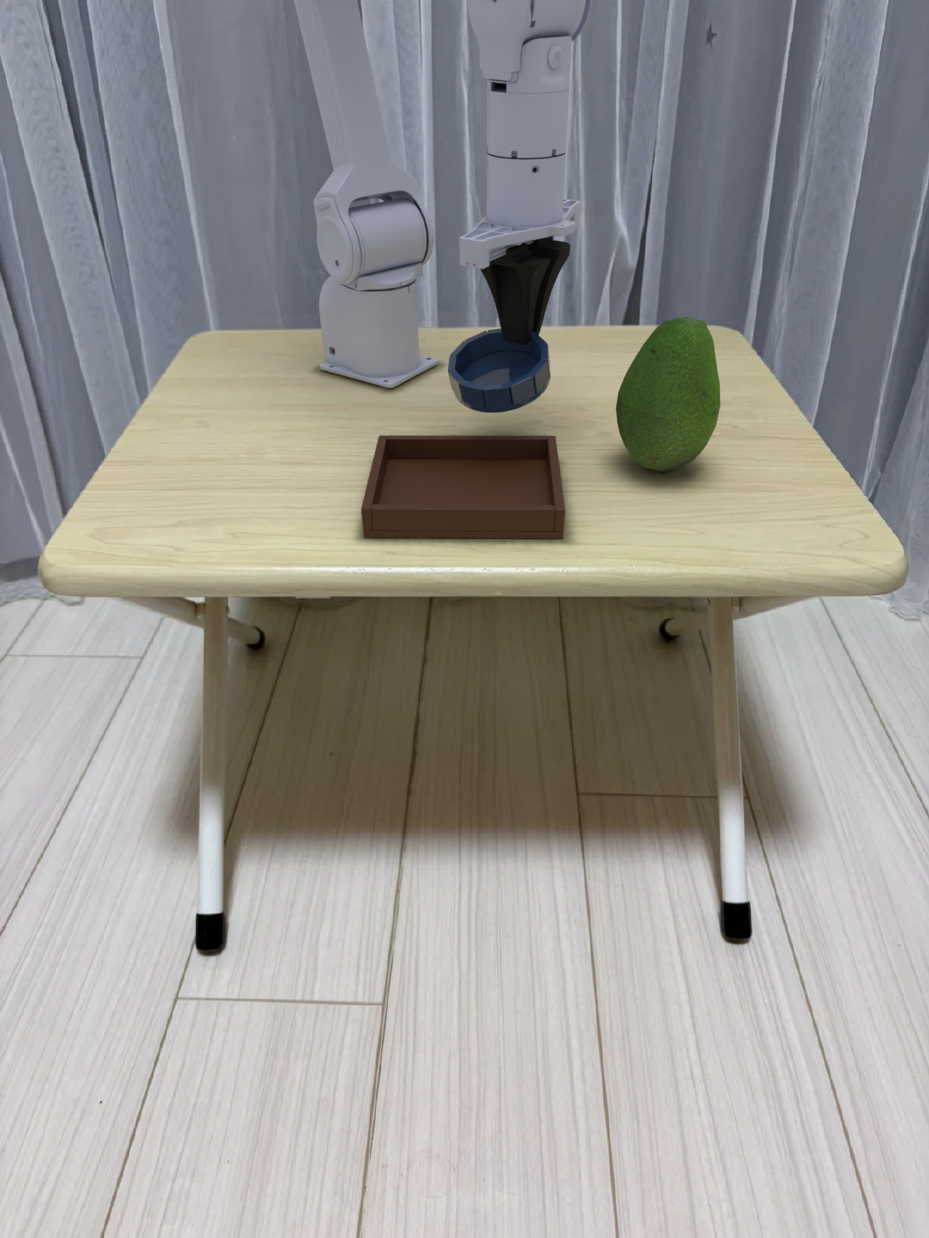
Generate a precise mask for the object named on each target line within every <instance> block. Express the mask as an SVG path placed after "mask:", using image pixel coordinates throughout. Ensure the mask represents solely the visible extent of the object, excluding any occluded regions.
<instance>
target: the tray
mask: <svg viewBox="0 0 929 1238" xmlns="http://www.w3.org/2000/svg"><path fill="white" fill-rule="evenodd" d="M362 499H363V500H362V505H361V508H360V511H361V522H362V523H361V524H362V534H363V538H364V539H365V538H367V539H370V538H371V539H372V538H374V539H375V538H376V539H377V538H382V539H384V538H385V539H386V538H387V539H390V538H391V539H392V538H394V539H395V538H396V539H397V538H398V539H401V538H402V539H549V540H550V539H556V540H557V539H559V540H560V539H564V533H565V518H566V506H565V505H566V504H565V500H564V490H563V483H562V474H561V467H560V460H559V452H558V444H557V436H556V435H465V434H464V435H460V434H459V435H450V434H449V435H447V434H446V435H444V434H443V435H442V434H441V435H439V434H438V435H433V434H430V435H428V434H427V435H426V434H425V435H423V434H422V435H417V434H414V435H413V434H412V435H411V434H409V435H408V434H407V435H405V434H404V435H403V434H402V435H400V434H395V435H394V434H393V435H392V434H390V435H389V434H387V435H386V434H383V435H381V434H379V435H378V438H377V442H376V446H375V449H374V453H373V458H372V463H371V467H370V471H369V474H368V479H367V483H366V487H365V492H364V496H363V498H362Z"/></svg>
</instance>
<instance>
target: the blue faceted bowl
mask: <svg viewBox="0 0 929 1238" xmlns="http://www.w3.org/2000/svg"><path fill="white" fill-rule="evenodd" d="M447 364H448V365H447V375H448V378H449V383H450V387H451V390H452V391H453V394H454V397H455V399H456V400H457V401H458V403H460V404H461V405H463V406H464V407H466V408H467V409H470V410H472V411H475V412H478V413H479V412H480V413H485V414H489V413H490V414H497V413H506V412H510V411H514V410H517V409H521V408H523V407H525V406H527V405H529V404H531V403H533V402H534V401H536V400H537V399H538V398H540V397H542V395H543V394H544V393H545V391H546V390H547V388H548V387H549V385H550V382H551V380H552V379H551V378H552V372H551V358H550V349H549V344H548V342H547V341H546V340H544V338H542V337H541V336H540V334H539V335H538V334H537V333H536V332H535V333H534V332H533V331H532V334H531V337H530V341H529V343H528V344H526V345H520V344H516V343H511V342H507V341H504V339H503V335H502V331H501V327H500V328H492V329H487V330H484V331H481V332H479V333H477V334H475V335H472V336H470V337H467V338H466V339H464V340H463V341H462V342H461V343H460V344H458V346H457V347H456V348H455V349H454V350H453V351H452V352H451V353H450V355H449V357H448V363H447Z"/></svg>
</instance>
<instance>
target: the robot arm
mask: <svg viewBox="0 0 929 1238" xmlns="http://www.w3.org/2000/svg"><path fill="white" fill-rule="evenodd" d="M465 1H466V3H467V12H468V18H469V22H470V25H471V28H472V31H473V34H474V36H475V38H476V42H477V44H478V45H477V46H478V52H479V69H481V74H482V78H483V79H486V182H485V183H486V185H485V186H486V188H485V189H486V197H485V198H486V199H485V200H486V203H485V204H486V207H485V210H486V212H485V213H486V214H485V216H484V217H483V218H482V219H481V220H480V221H479V222H478V223H477V224H476V225H475V226H474V227H473V228H472V229H471V230H470V231H469V232H468V233H466V234H463V235H462V236H459V239H458V245H459V247H458V248H459V265H460V266H462V267H467V268H474V269H478V270H479V271H480V272H481V273H482V275H483V277H484V279H485V281H486V283H487V285H488V288H489V290H490V293H491V295H492V299H493V302H494V306H495V309H496V314H497V317H498V322H499V326H500V328H501V331H502V335H503V339H504V341H507V342H511V343H516V344H520V345H526V344H528V343H529V341H530V337H531V334H532V331H533V332H534V333H535V332H536V333H537V334H538V335H539V336H540V333H541V329H542V326H543V323H544V319H545V315H546V312H547V309H548V308H547V307H548V305H549V301H550V298H551V295H552V292H553V289H554V286H555V283H556V281H557V279H558V278H559V276H560V272H561V271H562V269H563V267H564V265H565V263H566V262H567V260H568V259H569V257H570V255H571V244H570V242H567V241H563V240H555V239H554V237H566V236H567V237H568V236H570V235H571V234H574V233H575V232H576V229H577V228H579V227H581V226H580V225H581V213H582V212H581V211H582V210H581V209H582V201H581V200H576V199H575V200H574V199H568V198H564V194H565V193H564V192H565V191H564V190H565V177H566V176H565V173H566V155H567V139H568V137H567V136H568V135H567V134H568V119H569V101H570V99H569V98H570V83H571V82H570V80H571V79H570V78H571V64H572V63H571V60H572V43H573V42H574V41H575V40H576V39H578V38H579V37H580V35H581V34H582V32H583V31H584V29H585V28H586V25H587V24H588V21H589V18H590V15H591V11H592V8H593V7H592V6H593V0H465ZM293 3H294V8H295V11H296V16H297V21H298V25H299V28H300V33H301V38H302V42H303V45H304V49H305V54H306V59H307V63H308V67H309V72H310V76H311V80H312V84H313V88H314V92H315V97H316V101H317V105H318V109H319V113H320V114H319V115H320V119H321V123H322V127H323V131H324V136H325V139H326V143H327V148H328V152H329V156H330V160H331V165H332V172H331V174H330V175H329V176H328V178H327V180H326V181H325V182H324V184H323V185H322V187H321V188H320V189H319V191H318V192H317V194H316V195H315V197H314V199H313V201H312V204H313V208H314V214H315V220H316V246H317V251H318V254H319V258H320V261H321V263H322V265H323V267H324V269H325V270H326V271H327V273H328V274H329V275H330V276H329V277H327V279H325V281H324V283H323V285H322V287H321V289H320V293H319V298H318V312H319V320H320V330H321V340H322V348H323V356H324V362H322V363H320V364H319V369H320V370H322V371H326V372H329V373H333V374H336V375H340V376H344V377H348V378H351V379H355V380H358V381H361V382H365V383H368V384H369V383H370V384H371V385H372V384H373V385H376V386H379V387H383V388H387V389H393V388H396V387H397V386H399V385H401V384H402V383H405V382H406V381H408V380H411V379H412V378H414V377H416V376H417V375H419V374H421V373H423V372H425V371H427V370H429V369H431V368H433V367H435V366H437V365H438V359H437V358H435V357H431V356H426V355H424V354H421V353H420V335H419V312H418V310H419V309H418V289H417V287H418V286H417V278H420V277H423V276H424V275H423V274H424V273H423V266H424V265H426V264H427V263H428V261H429V260H430V259H431V257H432V254H433V250H434V241H435V233H434V226H433V222H432V219H431V217H430V214H429V212H428V210H427V208H426V206H425V205H424V203H423V200H422V197H421V194H420V190H419V185H418V180H417V179H416V178H415V177H414V176H413V175H412V174H411V173H409V172H408V171H406V170H405V169H404V168H403V167H401V166H400V165H399V164H397V163H396V162H395V161H394V160H392V158H391V156H390V151H389V146H388V141H387V137H386V131H385V128H384V127H385V126H384V122H383V117H382V113H381V109H380V103H379V98H378V93H377V89H376V85H375V80H374V75H373V70H372V65H371V60H370V56H369V51H368V50H369V49H368V46H367V41H366V37H365V32H364V27H363V23H362V18H361V13H360V7H359V4H358V0H293ZM373 199H374V200H375V199H379V200H381V201H379V202H374V203H369V204H363V205H357V206H352V207H350V206H351V205H352V203H357V202H361V201H362V202H363V201H367V200H373Z"/></svg>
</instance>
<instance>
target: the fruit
mask: <svg viewBox="0 0 929 1238" xmlns="http://www.w3.org/2000/svg"><path fill="white" fill-rule="evenodd" d="M714 342H715V341H714V338H713V336H712V334H711V331H710V330H709V328H708V326H707V323H706V322H705V320H702V319H697V318H693V317H688V316H676V317H673V318H670V319H667V320H665V321H664V322H662V323H661V324H659V325H657V327H655V329H654V330H653V331H652V332H651V333H650V335H648V338H647V339H646V340H645V342H644V343H643V344H642V345H641V347H640V349H639V351H638V352H637V354H636V355H635V357H634V358H633V360H632V361H631V363H630V365H629V367H628V369H627V370H626V372H625V375H624V377H623V379H622V382H621V384H620V386H619V390H618V391H617V398H616V404H615V415H616V423H617V429H618V433H619V436H620V438H621V441H622V444H623V446H624V447H625V449H626V451H627V452H628V454H629V455H630V457H631V458H632V459H633V460H634V461H636V462H637V463H638V464H639V465H641V466H642V468H646V469H649V470H653V471H657V472H662V473H666V472H670V471H673V470H677V469H680V468H683V467H685V466H687V465H688V464H690V463H691V462H693V461H694V460H695V459H696V458H698V456H700V454H701V453H702V452H703V451H704V449H705V448H706V446H707V445H708V443H709V441H710V439H711V437H712V435H713V433H714V431H715V429H716V428H717V423H718V419H719V414H720V409H721V384H720V382H721V381H720V376H719V371H718V364H717V363H718V362H717V355H716V350H715V343H714Z"/></svg>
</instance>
